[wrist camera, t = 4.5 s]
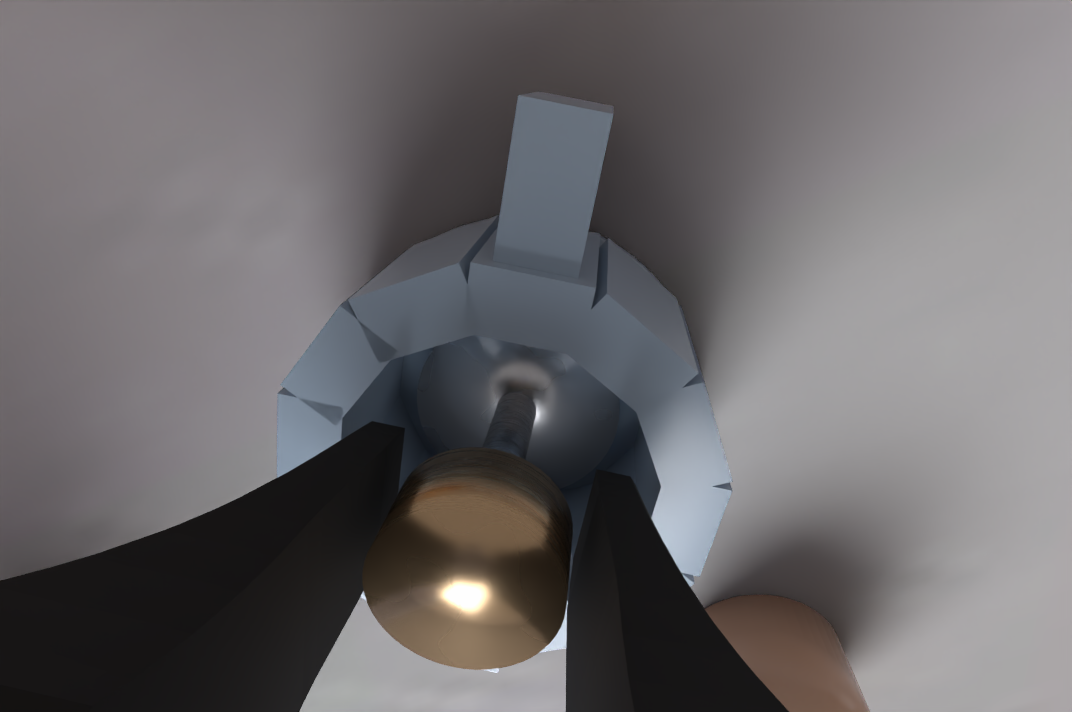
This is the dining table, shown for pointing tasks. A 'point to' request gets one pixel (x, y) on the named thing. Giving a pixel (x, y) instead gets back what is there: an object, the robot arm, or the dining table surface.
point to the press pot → (529, 334)
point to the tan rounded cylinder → (790, 652)
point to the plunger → (489, 504)
